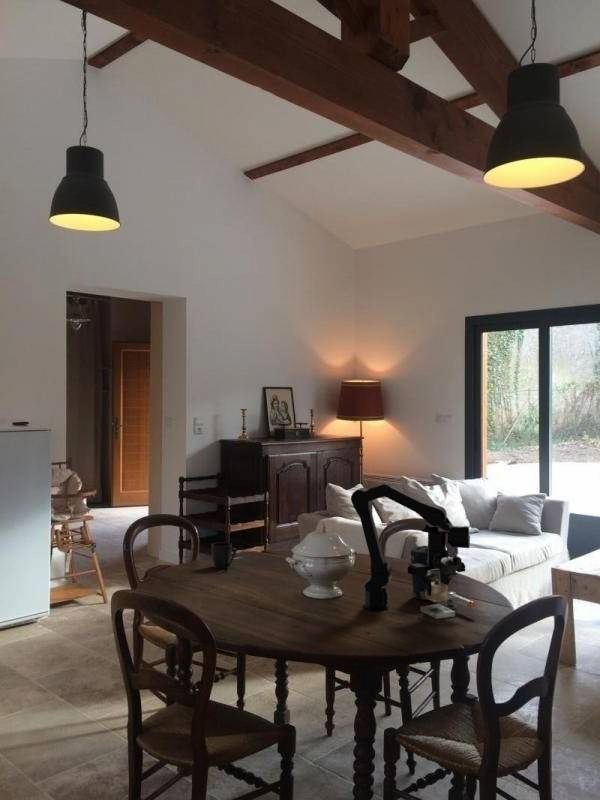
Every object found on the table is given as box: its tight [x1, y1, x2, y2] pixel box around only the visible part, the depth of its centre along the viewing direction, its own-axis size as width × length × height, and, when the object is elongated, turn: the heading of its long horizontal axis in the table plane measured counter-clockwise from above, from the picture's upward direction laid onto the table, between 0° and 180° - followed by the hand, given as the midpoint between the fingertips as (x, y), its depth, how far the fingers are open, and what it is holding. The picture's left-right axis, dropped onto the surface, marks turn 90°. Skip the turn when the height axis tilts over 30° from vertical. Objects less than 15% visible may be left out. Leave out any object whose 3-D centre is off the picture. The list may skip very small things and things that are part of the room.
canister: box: [410, 545, 441, 601], centre depth 242 cm, size 10×10×18 cm
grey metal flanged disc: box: [444, 600, 458, 610], centre depth 231 cm, size 4×4×2 cm
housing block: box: [425, 580, 449, 603], centre depth 225 cm, size 5×5×6 cm
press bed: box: [420, 603, 456, 620], centre depth 224 cm, size 7×9×2 cm
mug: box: [210, 541, 237, 569], centre depth 285 cm, size 8×12×10 cm
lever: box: [447, 591, 477, 610], centre depth 226 cm, size 3×14×2 cm, turn 24°
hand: (436, 594), depth 225 cm, fingers closed on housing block, 5 cm apart
